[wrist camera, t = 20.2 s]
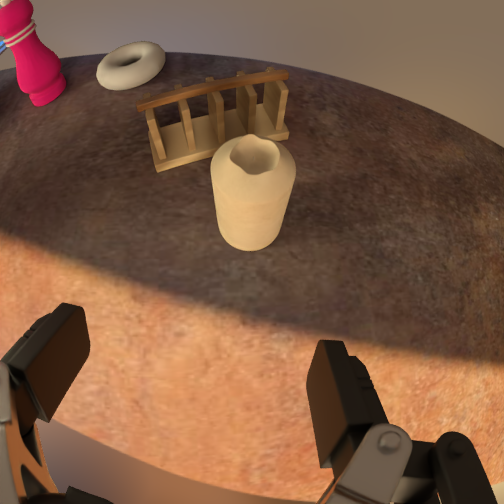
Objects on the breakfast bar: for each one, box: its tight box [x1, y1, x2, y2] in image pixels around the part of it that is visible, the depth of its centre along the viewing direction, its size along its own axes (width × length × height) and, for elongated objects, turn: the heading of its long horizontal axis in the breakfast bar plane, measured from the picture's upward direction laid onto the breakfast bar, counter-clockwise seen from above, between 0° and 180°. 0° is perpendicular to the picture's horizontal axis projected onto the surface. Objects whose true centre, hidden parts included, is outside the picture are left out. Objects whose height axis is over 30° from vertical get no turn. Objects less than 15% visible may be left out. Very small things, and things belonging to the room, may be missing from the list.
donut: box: [96, 41, 165, 90], centre depth 33 cm, size 10×3×10 cm
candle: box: [211, 134, 296, 251], centre depth 22 cm, size 6×6×10 cm
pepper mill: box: [0, 0, 66, 106], centre depth 24 cm, size 7×7×20 cm
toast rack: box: [136, 67, 289, 172], centre depth 27 cm, size 14×5×8 cm, turn 109°
